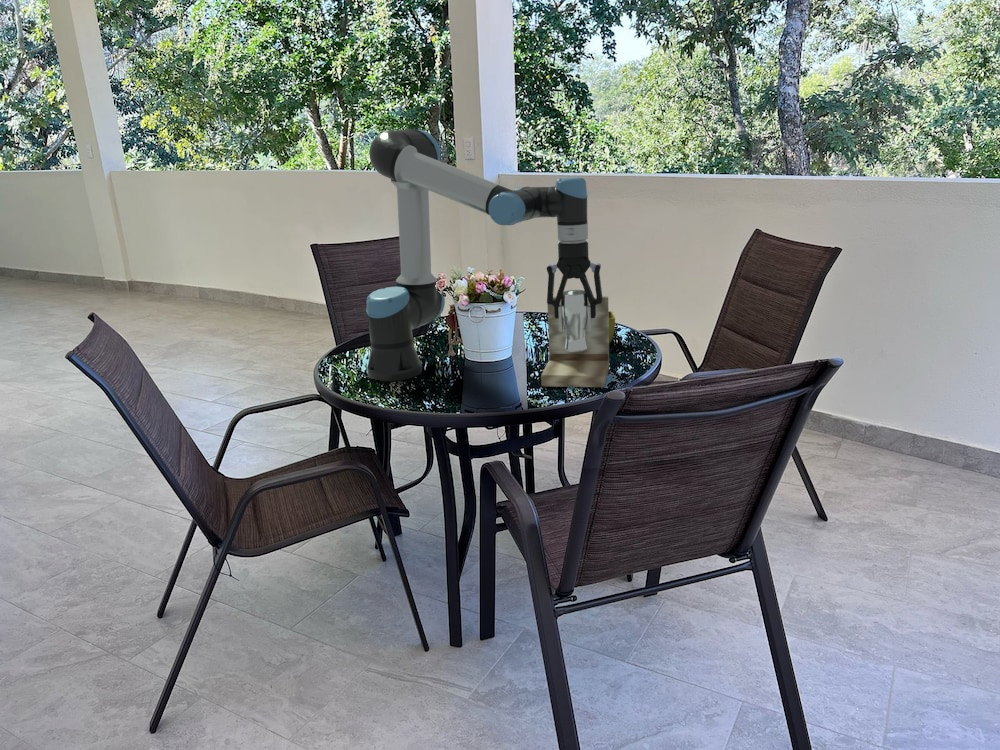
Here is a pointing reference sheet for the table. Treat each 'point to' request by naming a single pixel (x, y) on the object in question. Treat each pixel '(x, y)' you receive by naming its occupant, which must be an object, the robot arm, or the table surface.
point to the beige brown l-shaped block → (578, 353)
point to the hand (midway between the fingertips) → (575, 330)
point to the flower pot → (611, 325)
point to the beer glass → (575, 319)
